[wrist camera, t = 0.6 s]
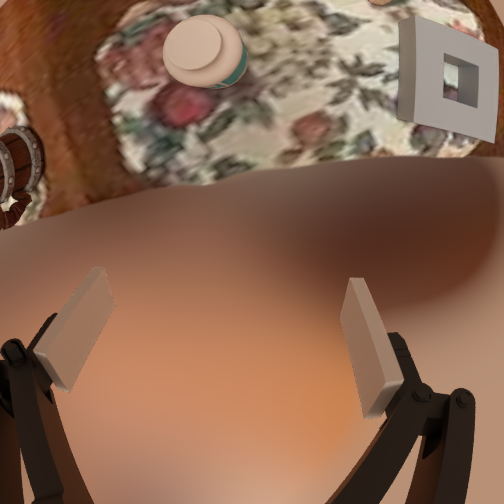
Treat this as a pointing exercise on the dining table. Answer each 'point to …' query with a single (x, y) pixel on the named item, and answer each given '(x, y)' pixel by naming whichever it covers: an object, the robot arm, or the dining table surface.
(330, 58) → the dining table surface
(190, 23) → the pill bottle
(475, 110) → the socket
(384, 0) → the peg
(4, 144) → the mug
